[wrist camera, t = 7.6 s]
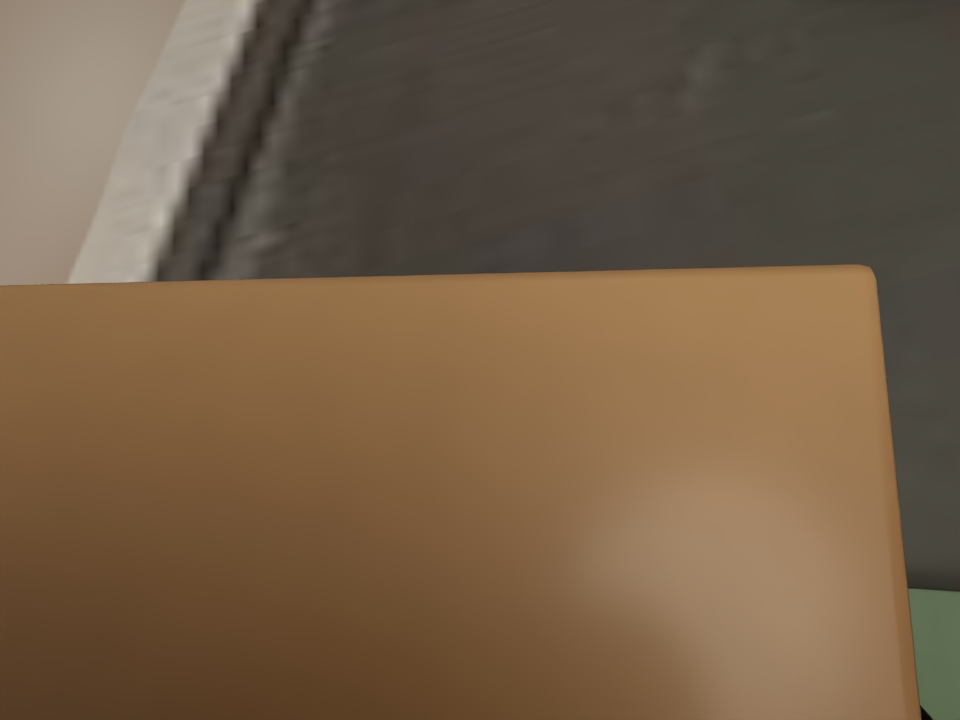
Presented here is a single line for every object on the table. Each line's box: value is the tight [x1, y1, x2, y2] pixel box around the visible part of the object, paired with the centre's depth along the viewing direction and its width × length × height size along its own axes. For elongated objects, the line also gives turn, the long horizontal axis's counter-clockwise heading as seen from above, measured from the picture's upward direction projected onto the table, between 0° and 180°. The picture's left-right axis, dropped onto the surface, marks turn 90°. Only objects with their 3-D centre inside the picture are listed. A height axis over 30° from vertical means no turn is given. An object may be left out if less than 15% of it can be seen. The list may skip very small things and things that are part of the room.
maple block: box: [0, 264, 922, 720], centre depth 9 cm, size 5×6×12 cm
